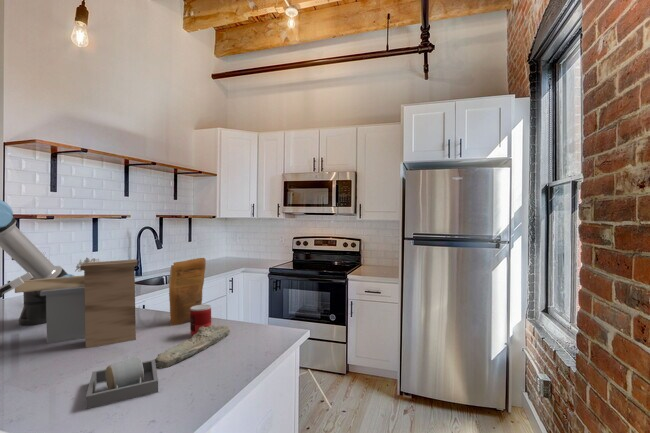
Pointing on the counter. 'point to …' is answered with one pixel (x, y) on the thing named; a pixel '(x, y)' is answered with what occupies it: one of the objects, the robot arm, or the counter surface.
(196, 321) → the canned food
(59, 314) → the tall grey box
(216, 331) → the long grey stone
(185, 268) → the pancake mix bag
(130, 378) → the white cylinder
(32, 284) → the oak beam
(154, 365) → the frame
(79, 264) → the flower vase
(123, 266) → the walnut pedestal
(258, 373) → the counter surface
